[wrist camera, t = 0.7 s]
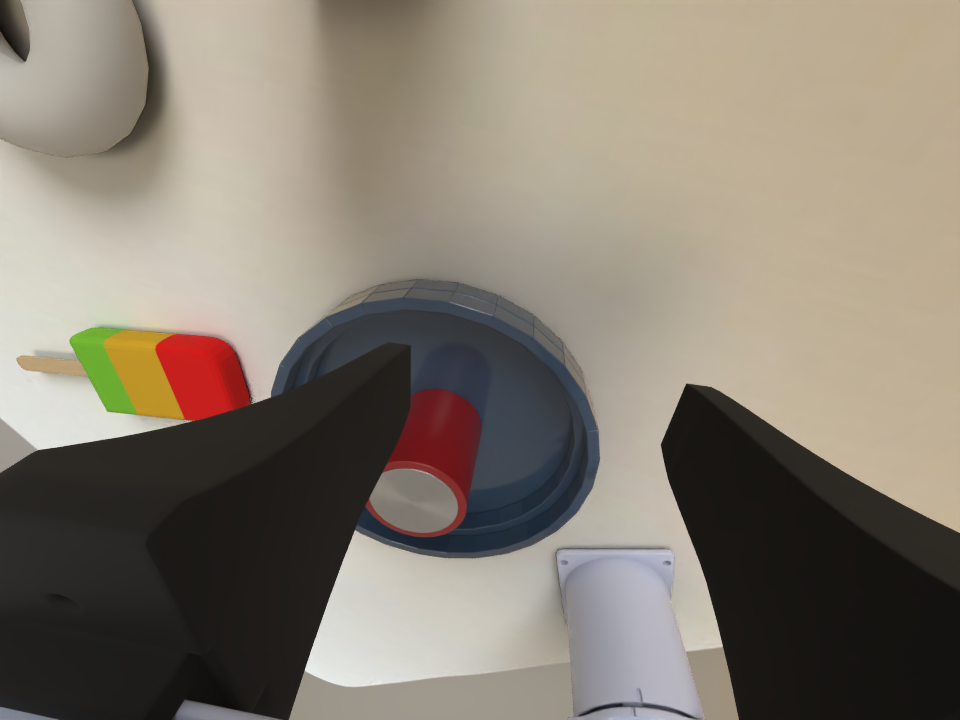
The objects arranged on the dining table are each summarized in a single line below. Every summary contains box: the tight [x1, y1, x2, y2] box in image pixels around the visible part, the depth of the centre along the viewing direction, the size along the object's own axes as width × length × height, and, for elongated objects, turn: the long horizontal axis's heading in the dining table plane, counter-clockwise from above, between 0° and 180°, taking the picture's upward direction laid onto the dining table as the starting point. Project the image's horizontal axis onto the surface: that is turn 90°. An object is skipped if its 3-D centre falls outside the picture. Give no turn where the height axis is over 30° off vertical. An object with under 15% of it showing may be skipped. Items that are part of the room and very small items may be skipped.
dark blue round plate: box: [271, 279, 600, 558], centre depth 23 cm, size 18×18×3 cm
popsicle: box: [17, 328, 250, 421], centre depth 25 cm, size 6×15×2 cm, turn 89°
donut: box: [0, 0, 149, 157], centre depth 15 cm, size 10×4×10 cm
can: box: [366, 389, 482, 537], centre depth 22 cm, size 5×5×6 cm
